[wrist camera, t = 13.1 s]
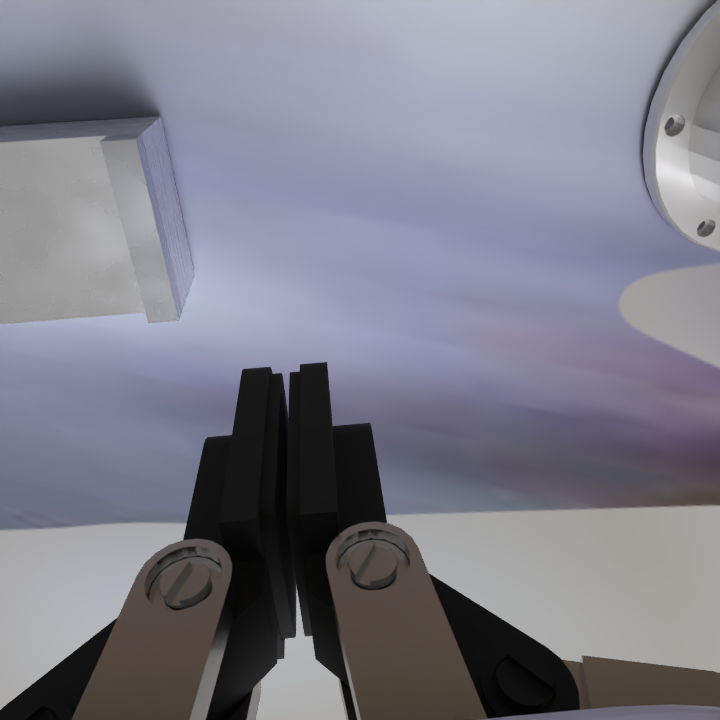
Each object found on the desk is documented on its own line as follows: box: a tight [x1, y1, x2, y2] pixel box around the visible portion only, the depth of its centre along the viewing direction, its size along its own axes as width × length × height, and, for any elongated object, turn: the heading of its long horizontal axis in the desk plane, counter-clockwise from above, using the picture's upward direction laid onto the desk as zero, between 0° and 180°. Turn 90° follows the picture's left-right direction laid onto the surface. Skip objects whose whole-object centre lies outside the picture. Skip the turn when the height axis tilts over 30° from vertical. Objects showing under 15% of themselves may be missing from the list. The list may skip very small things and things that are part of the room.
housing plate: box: [0, 116, 195, 324], centre depth 23 cm, size 8×7×4 cm
